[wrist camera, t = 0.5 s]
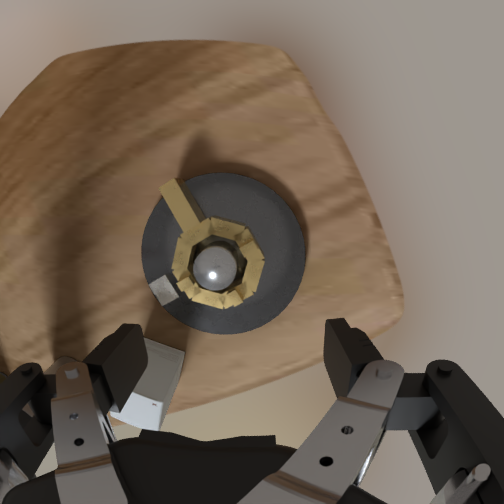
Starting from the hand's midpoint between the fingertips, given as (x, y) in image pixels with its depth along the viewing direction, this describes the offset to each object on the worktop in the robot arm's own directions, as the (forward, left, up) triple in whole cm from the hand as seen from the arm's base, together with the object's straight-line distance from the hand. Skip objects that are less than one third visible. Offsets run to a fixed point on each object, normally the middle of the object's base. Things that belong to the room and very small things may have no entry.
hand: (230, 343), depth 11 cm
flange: (-4, 0, -27) cm, 27 cm away
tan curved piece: (-4, +3, -25) cm, 25 cm away
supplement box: (-22, -10, -27) cm, 36 cm away
